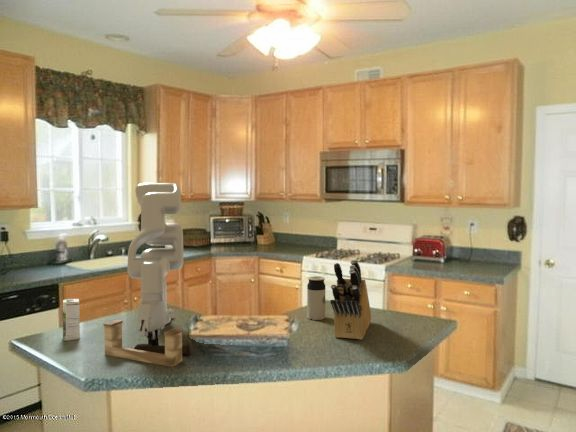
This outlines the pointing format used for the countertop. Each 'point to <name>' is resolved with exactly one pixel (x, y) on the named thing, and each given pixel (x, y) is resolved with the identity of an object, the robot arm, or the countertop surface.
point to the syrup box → (71, 319)
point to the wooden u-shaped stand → (115, 349)
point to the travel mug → (316, 298)
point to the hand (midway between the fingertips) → (153, 349)
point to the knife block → (350, 304)
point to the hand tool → (161, 348)
